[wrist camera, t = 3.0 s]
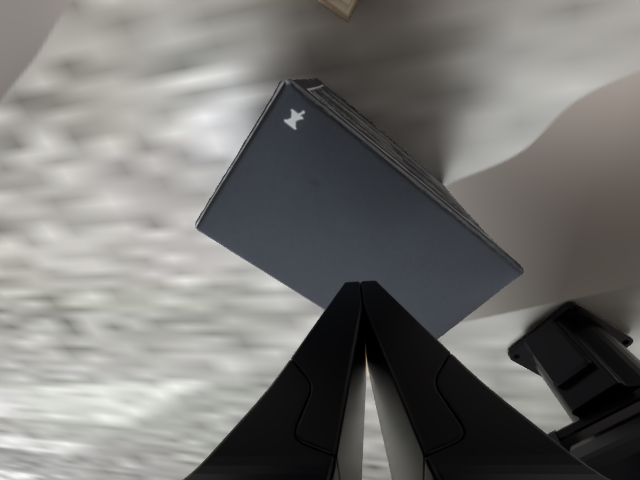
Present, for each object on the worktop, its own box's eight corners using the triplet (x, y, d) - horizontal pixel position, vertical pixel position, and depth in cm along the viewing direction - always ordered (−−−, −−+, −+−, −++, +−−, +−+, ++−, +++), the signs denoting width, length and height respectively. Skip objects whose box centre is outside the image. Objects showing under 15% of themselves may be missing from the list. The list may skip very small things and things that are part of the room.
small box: (254, 164, 20) (180, 232, 11) (313, 73, 18) (283, 60, 9) (378, 254, 23) (405, 372, 13) (446, 184, 20) (537, 269, 11)
